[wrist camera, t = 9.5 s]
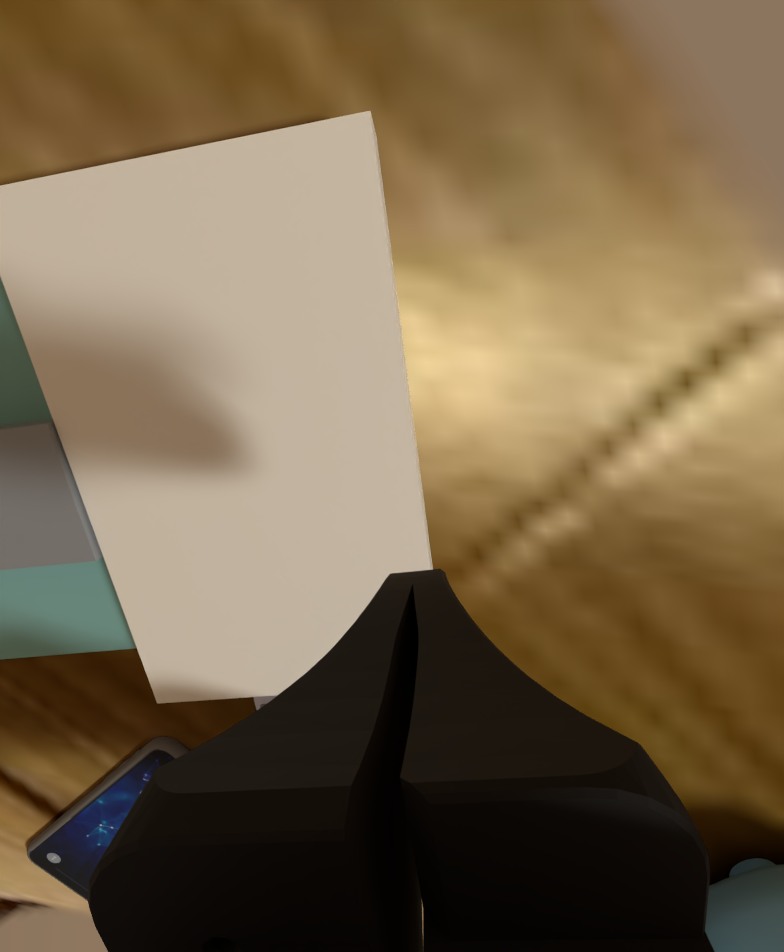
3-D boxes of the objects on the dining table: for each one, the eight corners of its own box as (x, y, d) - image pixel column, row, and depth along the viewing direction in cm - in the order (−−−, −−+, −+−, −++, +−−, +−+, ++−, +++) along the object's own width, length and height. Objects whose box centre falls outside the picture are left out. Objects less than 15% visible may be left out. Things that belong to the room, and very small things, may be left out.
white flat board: (443, 654, 23) (445, 683, 21) (178, 673, 24) (157, 703, 22) (376, 136, 16) (370, 110, 14) (18, 206, 18) (-31, 191, 16)
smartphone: (16, 855, 29) (156, 737, 25) (29, 839, 30) (166, 723, 26) (109, 919, 30) (256, 816, 26) (118, 902, 31) (262, 800, 27)
